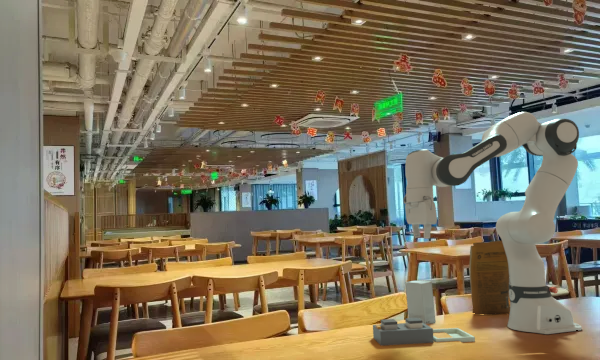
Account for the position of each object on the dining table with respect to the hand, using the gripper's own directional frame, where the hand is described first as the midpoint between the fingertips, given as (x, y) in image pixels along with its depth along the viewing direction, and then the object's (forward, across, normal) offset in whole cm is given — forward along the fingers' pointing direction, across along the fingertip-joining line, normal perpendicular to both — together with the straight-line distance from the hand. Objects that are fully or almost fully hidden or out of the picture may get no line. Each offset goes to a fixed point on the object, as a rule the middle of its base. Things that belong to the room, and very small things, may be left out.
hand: (422, 238), depth 160 cm
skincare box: (+31, +14, -3) cm, 34 cm away
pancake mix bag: (+31, +23, -35) cm, 52 cm away
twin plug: (+30, -12, +16) cm, 36 cm away
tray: (+31, -10, -3) cm, 33 cm away
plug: (+30, -12, +8) cm, 33 cm away
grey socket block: (+31, -12, +12) cm, 35 cm away
